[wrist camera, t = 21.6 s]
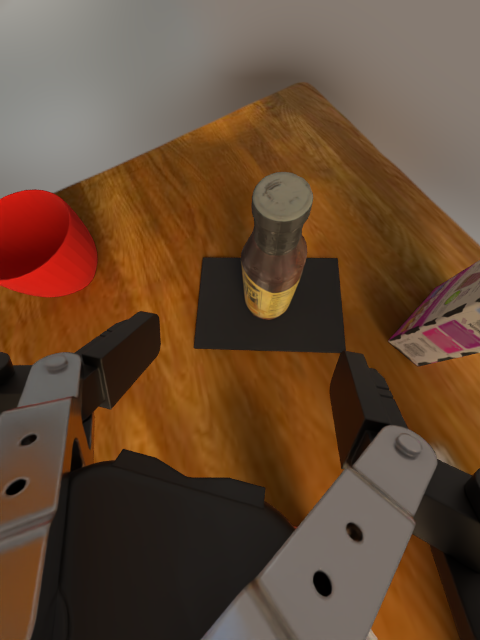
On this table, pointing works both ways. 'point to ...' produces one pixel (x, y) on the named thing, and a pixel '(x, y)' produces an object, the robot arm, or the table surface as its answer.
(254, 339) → the placemat
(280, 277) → the sauce bottle
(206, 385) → the table surface
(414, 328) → the candy bar box
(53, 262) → the ceramic cup
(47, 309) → the table surface
